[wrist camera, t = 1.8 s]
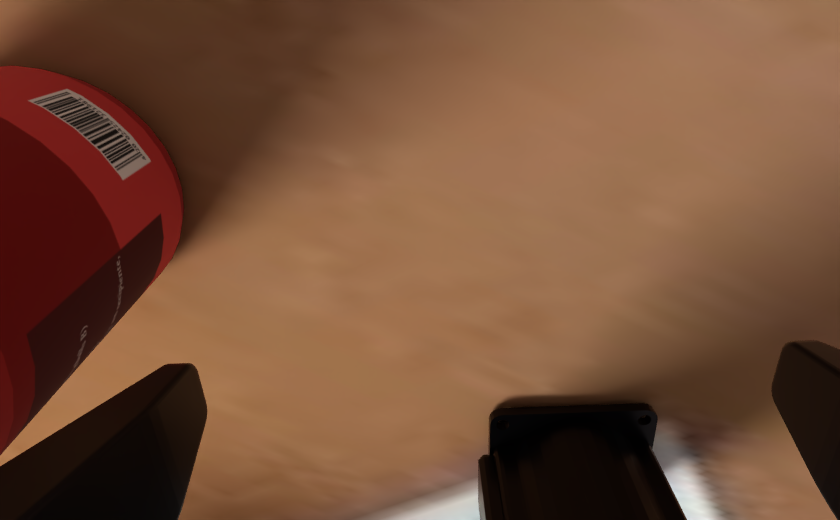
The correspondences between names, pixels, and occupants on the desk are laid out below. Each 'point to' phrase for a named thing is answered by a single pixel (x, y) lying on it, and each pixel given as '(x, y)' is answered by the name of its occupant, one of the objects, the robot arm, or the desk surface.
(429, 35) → the desk surface
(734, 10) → the desk surface
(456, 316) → the desk surface
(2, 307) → the canned food
